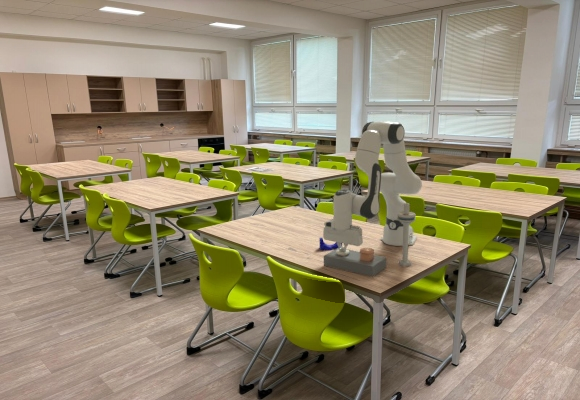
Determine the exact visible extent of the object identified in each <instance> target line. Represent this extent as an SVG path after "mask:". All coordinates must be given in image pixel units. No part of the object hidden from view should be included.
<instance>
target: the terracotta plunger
mask: <svg viewBox="0 0 580 400" xmlns="http://www.w3.org/2000/svg"><path fill="white" fill-rule="evenodd" d="M359 252H360V260H363V261H367V262H370V261H372V260H373V259H374V255H375V249H374V248H372V247H361V248H360V249H359Z"/></svg>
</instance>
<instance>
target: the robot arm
mask: <svg viewBox="0 0 580 400" xmlns="http://www.w3.org/2000/svg"><path fill="white" fill-rule="evenodd" d="M405 133H406V132H405V128H404V126H403V125H402V123H400V122H396V121H394V122H393V121H387V120H385V121H384V120H383V121H382V120H381V121H369V122H366V123H365V124H364V125H363V127H362V130H361V136H360V139H359V142H358V145H357V148H356V153H355V156H354V162H355V164H356V166H357V167H358V169H359V170H360V171H362V172H363V173H365V174H366V175H367V178H368V186H367V194H366V196H364V195H361V194H356V193H353V192H352V191H351V190H349V189H345V188H344V189H340V190H336V192H335V193H334V195H333V202H332V203H333V204H332V205H333V209H332V211H333V218H331V219H329V220H326V221H324V223H323V225H324V227H323V230H322V231H323V232H322V238H323V240H324V241H329V242H335V243H336V242H337V245H338V247H339V251H342V252H346V249H347V248H348V246H349V245H350V246H355V247H359V246H361V245H363V243H364V239H363V238H364V237H363V228H361V227H360V226H359V225H353V215H354V216H360V217H363V218H365V219H367V220H368V219H369V220H370V219H373V218H375V217H376V216H377V215H378V214H379V212H380V207H381V205H380V204H381V203H380V196H381V195H380V194H382V196H383V198H384V200H385V203H386V218H385V225H384V226H383V230H382V232H383V233H382V237H380V240H381V241H382V242H383V243H384V244H386V245H389V246H396V247H397V246H398V247H403V224H402V223H401V222H400V221H398V220H397V218H398V216H397V213H398V212H402V211H404V203H407V202H406V201H405V200H404V199H402V198H401V195H418V193H419V192H420V191H421V190H422V187H423V182H422V179H421V178H420V176H419V175H417V174H416V173H414V172H413V170H412V168H411V167H410V166H409V163H408V159H407V154H406V153H407V151H406V144H405V140H404V137H405ZM381 146H383V147H382V149H383V156H384V163H385V166H386V167H387V169H389V170H390V171H392V172H382V167H381V165H380V163H379V157H380V153H381ZM400 194H401V195H400ZM417 239H418V235H415V234H414V229H413V227H412V226H411V225H410V224H409V235H408V246H413V245H414V244H415V242H416V240H417ZM341 243H342V245H341Z"/></svg>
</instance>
